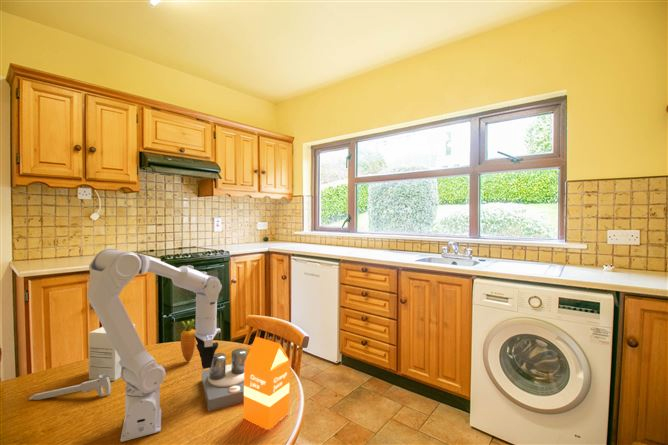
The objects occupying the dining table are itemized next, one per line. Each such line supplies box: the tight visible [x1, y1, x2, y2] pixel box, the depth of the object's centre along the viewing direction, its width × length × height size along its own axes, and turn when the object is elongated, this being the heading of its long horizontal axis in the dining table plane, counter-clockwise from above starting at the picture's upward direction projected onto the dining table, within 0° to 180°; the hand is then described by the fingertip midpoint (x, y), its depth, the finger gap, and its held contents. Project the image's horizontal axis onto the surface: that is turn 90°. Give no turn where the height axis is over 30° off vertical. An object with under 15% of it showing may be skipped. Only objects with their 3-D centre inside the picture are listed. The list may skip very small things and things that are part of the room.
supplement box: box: [88, 323, 136, 382], centre depth 100 cm, size 9×9×15 cm
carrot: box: [180, 318, 197, 363], centre depth 108 cm, size 5×5×15 cm
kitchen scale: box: [201, 364, 244, 412], centre depth 93 cm, size 17×14×4 cm
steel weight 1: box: [208, 352, 227, 380], centre depth 92 cm, size 4×4×6 cm
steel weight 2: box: [230, 347, 248, 374], centre depth 96 cm, size 4×4×6 cm
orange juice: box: [243, 336, 291, 429], centre depth 80 cm, size 8×9×20 cm
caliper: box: [27, 374, 112, 401], centre depth 87 cm, size 20×1×6 cm, turn 98°
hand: (205, 362), depth 91 cm, fingers open, 7 cm apart
